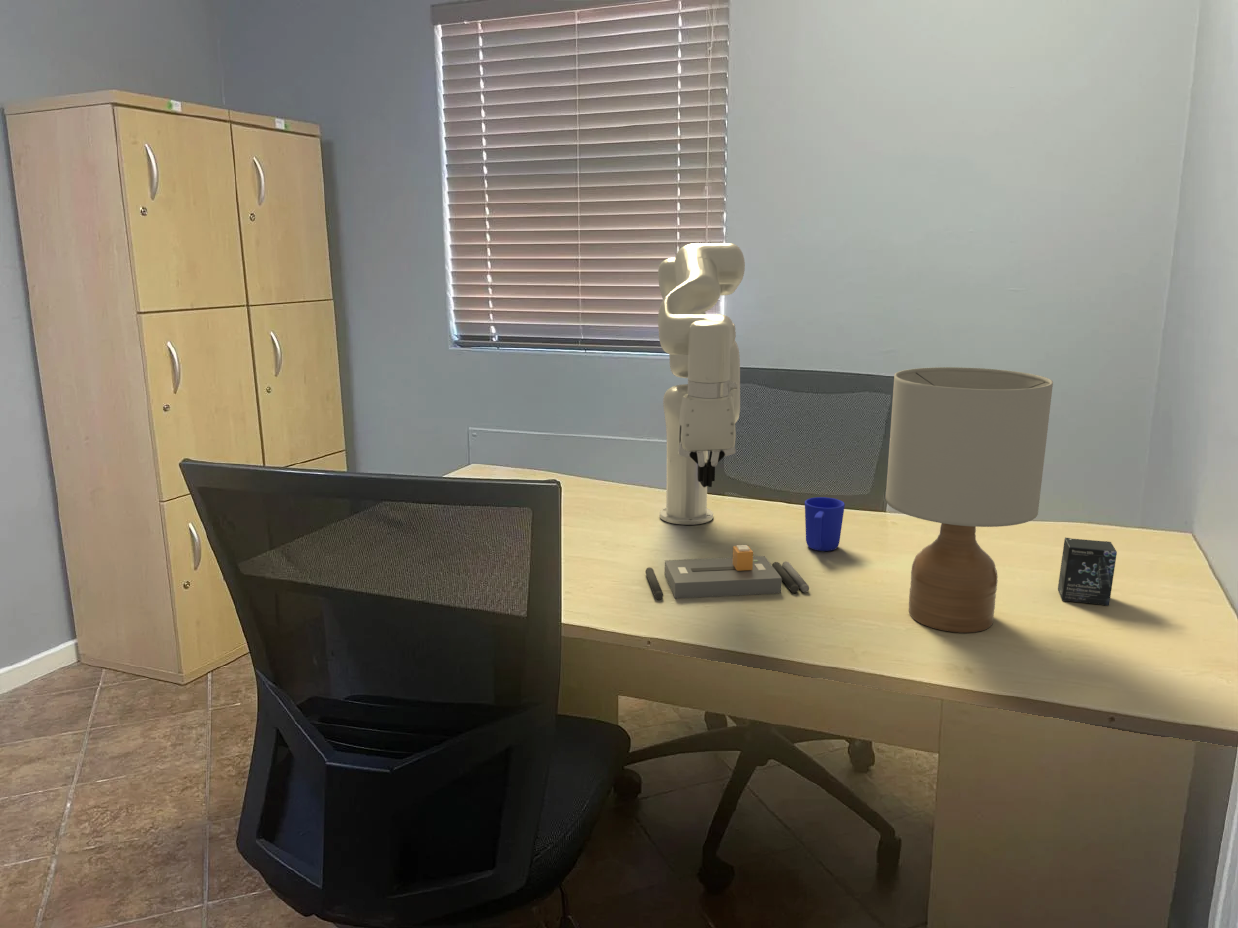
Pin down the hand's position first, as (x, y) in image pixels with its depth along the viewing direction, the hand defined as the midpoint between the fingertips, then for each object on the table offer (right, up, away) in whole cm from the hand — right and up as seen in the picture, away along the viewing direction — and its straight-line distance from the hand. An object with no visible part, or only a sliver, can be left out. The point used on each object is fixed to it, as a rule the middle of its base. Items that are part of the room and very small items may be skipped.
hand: (705, 484), depth 169 cm
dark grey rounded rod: (-10, -19, +2) cm, 22 cm away
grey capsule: (+16, -19, +4) cm, 25 cm away
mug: (+26, -15, +21) cm, 37 cm away
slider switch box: (+3, -19, +3) cm, 19 cm away
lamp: (+41, -23, -12) cm, 49 cm away
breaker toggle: (+7, -16, +3) cm, 18 cm away
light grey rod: (+18, -19, +4) cm, 26 cm away
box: (+68, -21, -5) cm, 72 cm away
